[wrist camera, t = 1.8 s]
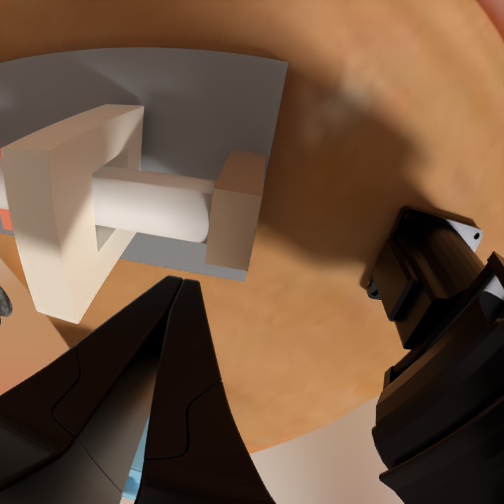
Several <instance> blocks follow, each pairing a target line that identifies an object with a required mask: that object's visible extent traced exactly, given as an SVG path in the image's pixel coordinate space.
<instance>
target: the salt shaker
mask: <svg viewBox="0 0 504 504" xmlns="http://www.w3.org/2000/svg"><path fill="white" fill-rule="evenodd" d="M11 313H12V304H11V302H10V299H9V298H8V296H7V294H6V293H5V291H4V290H3V289H2V288H1V286H0V316H6V317H7V316H10V315H11ZM0 324H1V318H0Z"/></svg>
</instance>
